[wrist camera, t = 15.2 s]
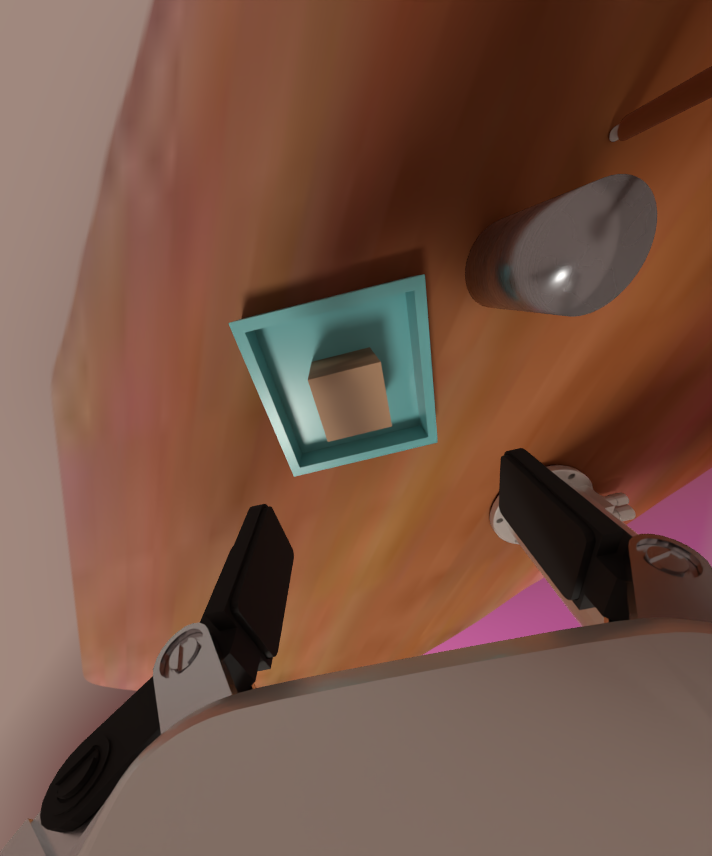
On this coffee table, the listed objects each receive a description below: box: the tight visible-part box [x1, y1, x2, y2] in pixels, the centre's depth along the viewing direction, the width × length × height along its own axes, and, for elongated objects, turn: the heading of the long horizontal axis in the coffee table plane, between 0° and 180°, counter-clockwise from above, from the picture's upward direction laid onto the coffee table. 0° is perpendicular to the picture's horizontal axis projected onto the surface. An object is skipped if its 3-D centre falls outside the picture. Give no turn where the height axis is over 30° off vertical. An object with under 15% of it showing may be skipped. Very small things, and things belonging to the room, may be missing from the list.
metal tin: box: [465, 174, 657, 316], centre depth 17 cm, size 6×6×8 cm
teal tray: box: [229, 274, 437, 477], centre depth 22 cm, size 14×14×3 cm
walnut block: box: [308, 347, 392, 442], centre depth 21 cm, size 5×5×5 cm
